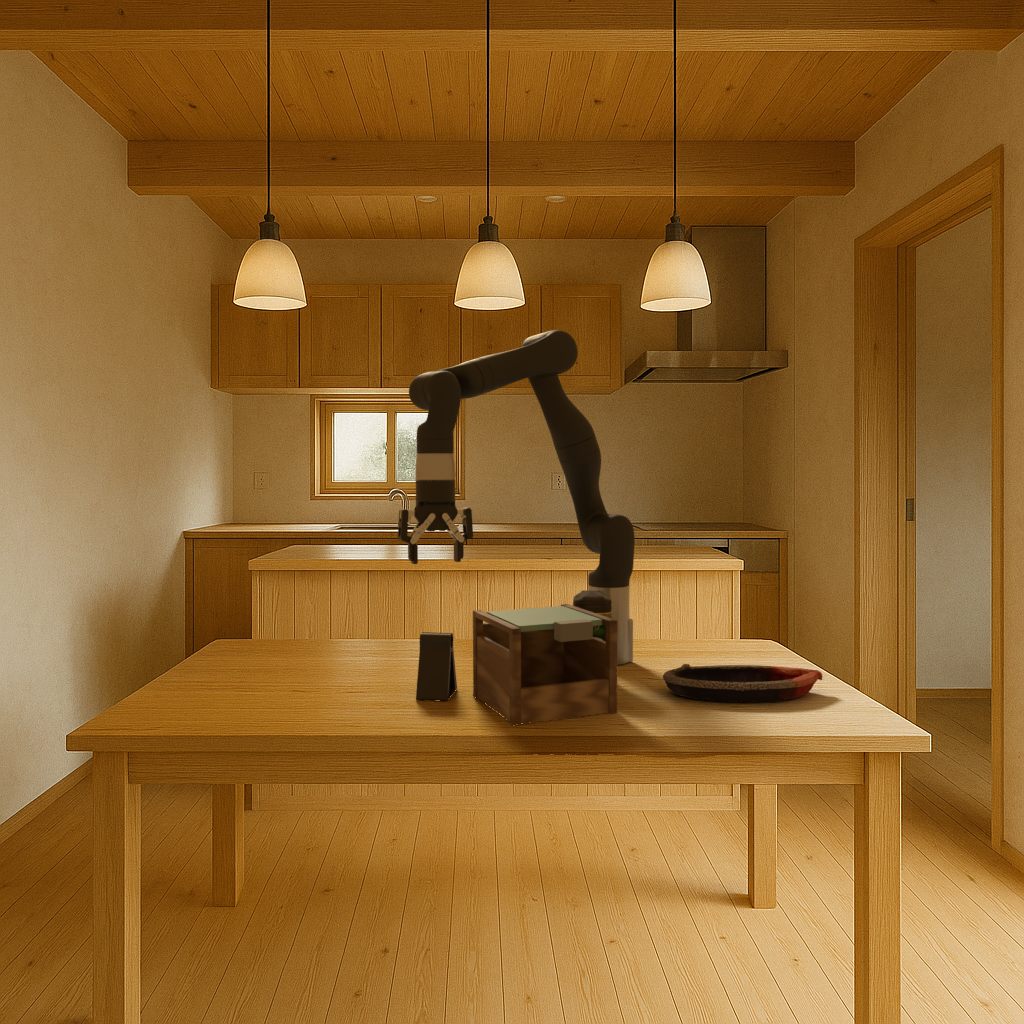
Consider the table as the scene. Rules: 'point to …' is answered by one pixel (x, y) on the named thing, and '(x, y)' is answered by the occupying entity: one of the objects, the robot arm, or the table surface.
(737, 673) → the dish
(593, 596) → the coffee jar
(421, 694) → the phone stand
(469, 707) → the table surface
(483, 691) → the wooden crate
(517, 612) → the trapdoor
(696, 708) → the table surface
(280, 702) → the table surface
